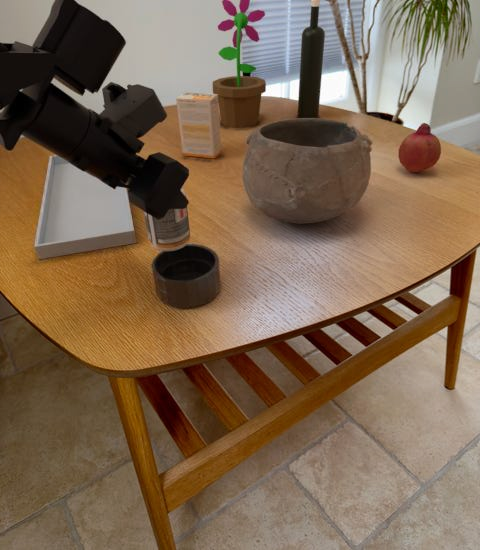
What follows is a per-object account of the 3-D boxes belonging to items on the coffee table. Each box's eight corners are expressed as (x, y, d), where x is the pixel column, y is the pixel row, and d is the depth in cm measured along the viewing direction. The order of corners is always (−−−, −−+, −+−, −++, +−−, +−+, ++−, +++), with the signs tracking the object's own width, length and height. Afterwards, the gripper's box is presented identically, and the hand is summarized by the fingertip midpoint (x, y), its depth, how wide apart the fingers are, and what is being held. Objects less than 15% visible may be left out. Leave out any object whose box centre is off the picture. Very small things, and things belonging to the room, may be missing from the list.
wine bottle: (300, 113, 125) (308, -12, 107) (320, 115, 123) (331, -12, 105) (294, 119, 120) (301, -10, 102) (315, 121, 119) (325, -10, 101)
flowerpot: (269, 115, 124) (271, -10, 106) (260, 131, 113) (260, -5, 95) (221, 112, 127) (215, -10, 109) (207, 128, 116) (198, -5, 98)
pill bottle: (198, 236, 61) (192, 169, 55) (175, 257, 57) (167, 187, 51) (164, 228, 63) (155, 162, 57) (140, 247, 59) (128, 178, 53)
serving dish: (38, 259, 68) (33, 246, 66) (52, 165, 98) (49, 155, 97) (136, 243, 71) (134, 230, 69) (121, 157, 101) (119, 147, 100)
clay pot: (220, 209, 79) (216, 127, 70) (303, 178, 89) (308, 102, 80) (301, 260, 66) (308, 166, 57) (387, 217, 76) (405, 131, 66)
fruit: (390, 175, 89) (400, 127, 83) (398, 161, 95) (408, 115, 89) (432, 182, 86) (445, 132, 80) (438, 167, 92) (450, 119, 86)
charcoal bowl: (161, 315, 56) (156, 288, 54) (152, 276, 63) (147, 250, 61) (227, 301, 58) (226, 274, 56) (212, 264, 65) (210, 239, 63)
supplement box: (222, 152, 102) (219, 93, 94) (214, 159, 98) (210, 99, 91) (190, 148, 104) (184, 91, 96) (181, 156, 101) (175, 97, 93)
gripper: (161, 77, 38) (253, 164, 50) (73, 51, 50) (165, 127, 62) (97, 186, 39) (204, 245, 51) (25, 135, 50) (126, 194, 63)
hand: (173, 197), depth 57 cm, fingers closed on pill bottle, 6 cm apart
